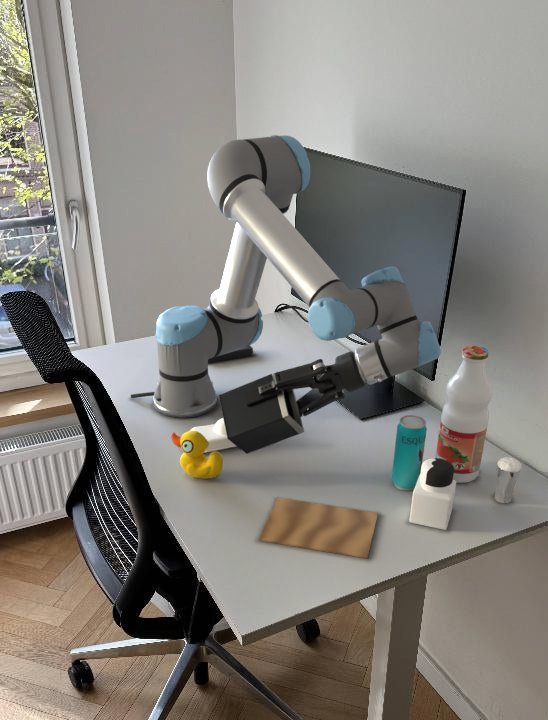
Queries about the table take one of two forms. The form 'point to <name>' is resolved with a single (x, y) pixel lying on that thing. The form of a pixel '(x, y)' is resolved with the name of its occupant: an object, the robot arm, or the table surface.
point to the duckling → (197, 455)
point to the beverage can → (408, 452)
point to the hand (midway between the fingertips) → (255, 409)
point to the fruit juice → (466, 416)
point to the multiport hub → (233, 355)
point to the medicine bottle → (433, 494)
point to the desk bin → (260, 417)
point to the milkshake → (506, 478)
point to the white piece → (215, 436)
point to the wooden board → (320, 527)
